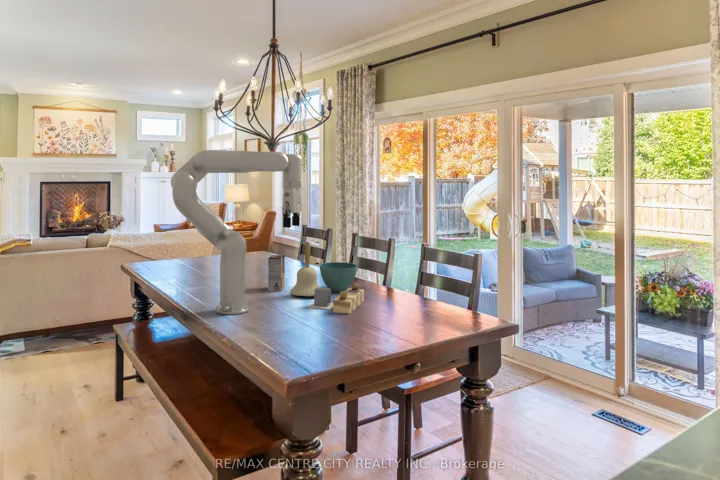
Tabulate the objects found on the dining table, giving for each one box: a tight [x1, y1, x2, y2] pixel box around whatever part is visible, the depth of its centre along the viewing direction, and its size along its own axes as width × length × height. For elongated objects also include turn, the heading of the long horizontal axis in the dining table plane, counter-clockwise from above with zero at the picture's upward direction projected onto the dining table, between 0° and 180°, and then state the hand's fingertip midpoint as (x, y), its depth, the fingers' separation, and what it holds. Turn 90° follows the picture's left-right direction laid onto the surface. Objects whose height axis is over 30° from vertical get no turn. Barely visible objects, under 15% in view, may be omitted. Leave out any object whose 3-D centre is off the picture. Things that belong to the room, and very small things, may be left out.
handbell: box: [289, 241, 321, 297], centre depth 222 cm, size 15×15×25 cm
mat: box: [306, 302, 333, 311], centre depth 205 cm, size 10×10×1 cm
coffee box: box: [267, 254, 286, 292], centre depth 234 cm, size 9×6×16 cm
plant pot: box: [319, 261, 358, 293], centre depth 237 cm, size 18×18×12 cm
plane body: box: [332, 283, 365, 315], centre depth 206 cm, size 24×7×8 cm, turn 166°
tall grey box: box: [313, 286, 332, 307], centre depth 205 cm, size 4×6×7 cm, turn 77°
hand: (291, 226), depth 201 cm, fingers open, 9 cm apart
